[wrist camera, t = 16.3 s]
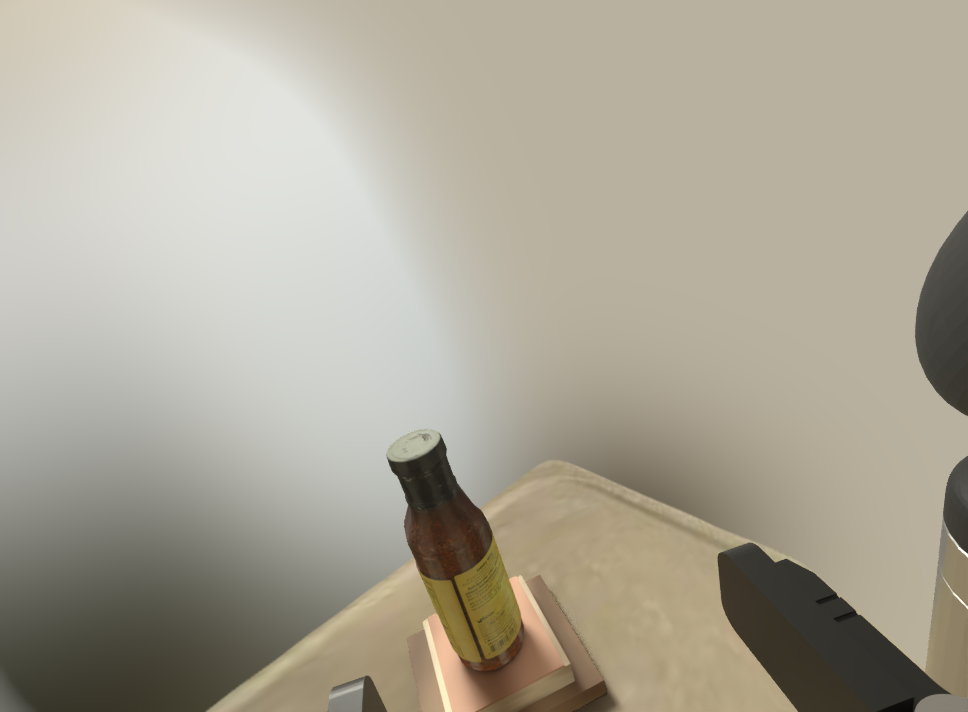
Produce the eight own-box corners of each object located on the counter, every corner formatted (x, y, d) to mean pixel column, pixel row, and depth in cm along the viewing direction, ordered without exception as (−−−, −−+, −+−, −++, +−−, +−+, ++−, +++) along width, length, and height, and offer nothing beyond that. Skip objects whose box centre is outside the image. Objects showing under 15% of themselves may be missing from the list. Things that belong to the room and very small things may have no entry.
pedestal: (542, 585, 49) (535, 558, 48) (606, 693, 38) (599, 660, 37) (411, 649, 46) (399, 621, 45) (439, 785, 35) (425, 753, 34)
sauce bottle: (525, 604, 43) (469, 410, 36) (527, 672, 37) (461, 458, 30) (454, 614, 44) (386, 427, 37) (446, 682, 38) (363, 476, 31)
